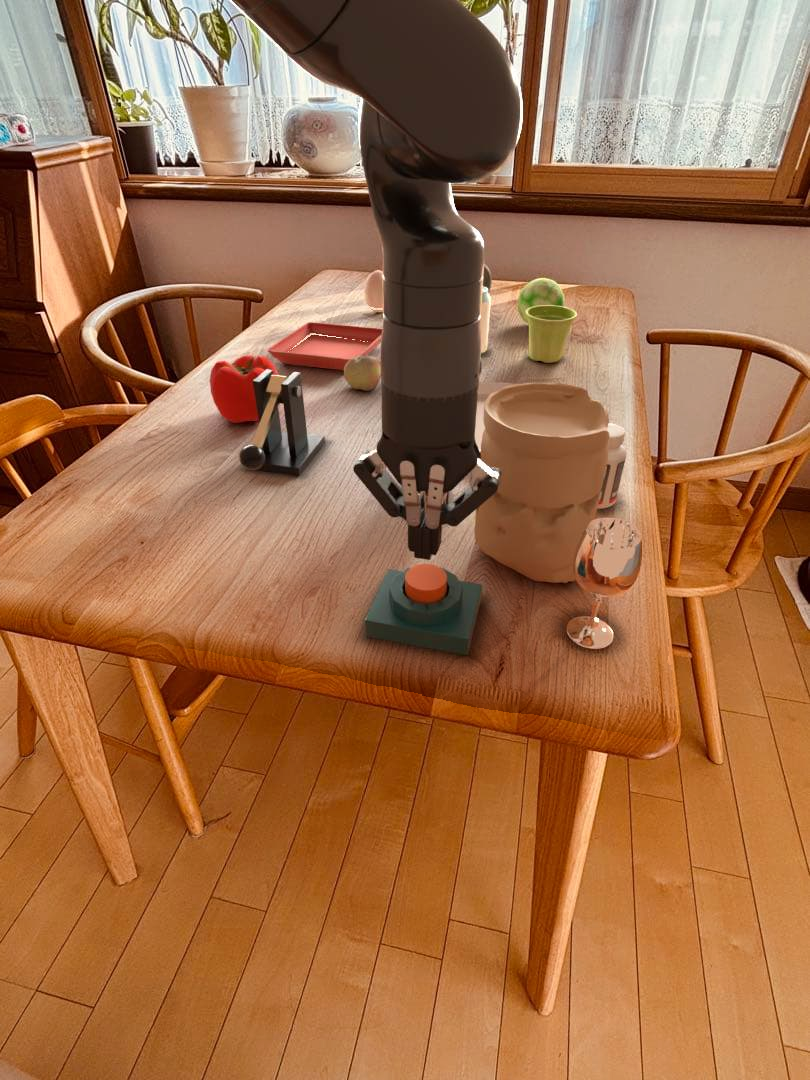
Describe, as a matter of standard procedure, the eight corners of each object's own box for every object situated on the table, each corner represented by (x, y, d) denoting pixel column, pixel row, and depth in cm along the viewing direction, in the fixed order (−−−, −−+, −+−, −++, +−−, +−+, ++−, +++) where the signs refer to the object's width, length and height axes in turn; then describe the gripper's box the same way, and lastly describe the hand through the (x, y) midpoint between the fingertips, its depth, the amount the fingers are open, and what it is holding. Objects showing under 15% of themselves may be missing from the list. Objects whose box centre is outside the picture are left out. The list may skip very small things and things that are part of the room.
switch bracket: (299, 475, 85) (289, 394, 78) (246, 468, 87) (231, 388, 80) (325, 442, 93) (318, 366, 86) (275, 436, 95) (265, 360, 88)
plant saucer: (267, 366, 118) (265, 348, 116) (309, 336, 132) (307, 320, 130) (355, 377, 113) (354, 359, 111) (389, 345, 127) (389, 329, 125)
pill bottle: (599, 484, 83) (614, 417, 77) (624, 505, 79) (641, 435, 73) (564, 492, 81) (576, 423, 76) (587, 513, 77) (602, 443, 72)
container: (569, 521, 76) (595, 380, 65) (598, 589, 66) (635, 435, 55) (466, 524, 76) (476, 382, 65) (480, 592, 66) (494, 438, 55)
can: (486, 345, 127) (491, 284, 120) (486, 358, 121) (491, 294, 114) (452, 344, 127) (454, 283, 120) (450, 356, 122) (453, 293, 115)
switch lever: (263, 476, 80) (255, 462, 77) (241, 473, 80) (232, 459, 78) (295, 390, 86) (289, 374, 83) (274, 388, 86) (267, 372, 83)
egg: (385, 317, 142) (384, 275, 137) (359, 314, 145) (357, 272, 139) (397, 309, 147) (397, 268, 142) (373, 306, 149) (371, 265, 144)
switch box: (365, 636, 60) (363, 606, 58) (388, 584, 67) (387, 555, 64) (467, 655, 58) (469, 624, 56) (480, 600, 65) (483, 570, 62)
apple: (386, 397, 106) (385, 363, 103) (341, 394, 107) (338, 360, 104) (393, 383, 111) (392, 350, 108) (349, 380, 112) (347, 348, 109)
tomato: (226, 437, 94) (215, 380, 89) (210, 407, 103) (199, 353, 98) (294, 423, 98) (287, 368, 93) (273, 395, 107) (266, 343, 101)
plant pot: (579, 362, 119) (587, 316, 114) (535, 369, 116) (541, 322, 111) (553, 347, 126) (559, 303, 121) (512, 352, 123) (516, 307, 118)
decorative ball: (518, 318, 142) (522, 271, 136) (562, 321, 139) (569, 274, 133) (512, 331, 134) (517, 282, 128) (559, 335, 132) (566, 286, 126)
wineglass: (557, 609, 63) (576, 511, 56) (616, 615, 63) (642, 516, 56) (561, 651, 59) (582, 550, 52) (624, 657, 58) (654, 555, 51)
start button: (400, 600, 59) (400, 586, 58) (410, 574, 62) (410, 560, 61) (441, 607, 58) (442, 593, 57) (450, 581, 61) (450, 567, 60)
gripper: (331, 384, 46) (343, 567, 56) (510, 403, 43) (489, 591, 54) (362, 350, 52) (368, 521, 62) (521, 365, 49) (500, 541, 59)
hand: (424, 553), depth 58 cm, fingers closed
